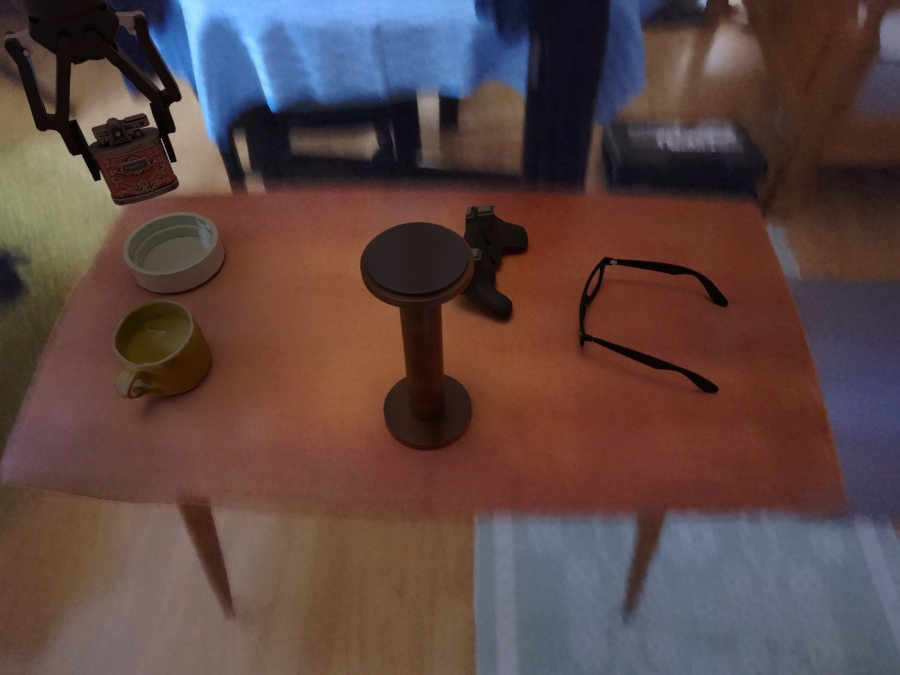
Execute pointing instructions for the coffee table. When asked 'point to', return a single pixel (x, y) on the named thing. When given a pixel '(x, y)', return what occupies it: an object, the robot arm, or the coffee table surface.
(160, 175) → the lighter
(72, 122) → the robot arm
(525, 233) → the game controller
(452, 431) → the stand
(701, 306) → the coffee table surface
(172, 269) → the bowl
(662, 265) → the glasses
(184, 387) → the mug
